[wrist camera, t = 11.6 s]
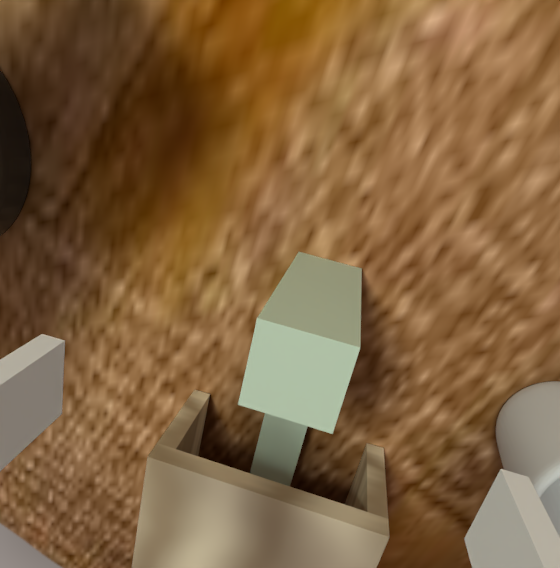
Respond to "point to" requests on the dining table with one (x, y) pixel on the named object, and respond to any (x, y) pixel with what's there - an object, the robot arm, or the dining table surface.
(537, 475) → the cup
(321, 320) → the sage green mallet
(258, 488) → the beige arch
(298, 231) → the dining table surface
